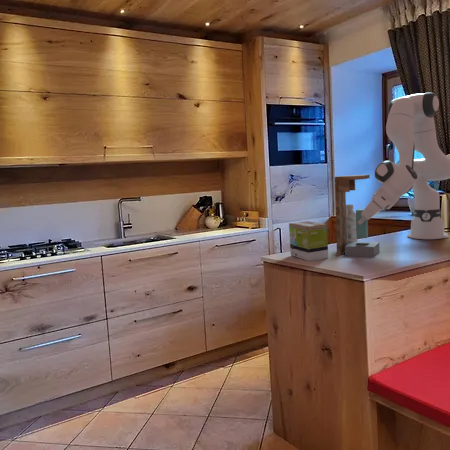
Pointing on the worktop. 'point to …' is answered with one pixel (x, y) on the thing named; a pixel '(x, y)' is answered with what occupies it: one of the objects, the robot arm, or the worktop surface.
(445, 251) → the worktop surface
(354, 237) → the plastic bottle
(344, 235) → the wooden post stand
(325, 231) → the tea box
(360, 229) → the peg
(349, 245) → the socket block
